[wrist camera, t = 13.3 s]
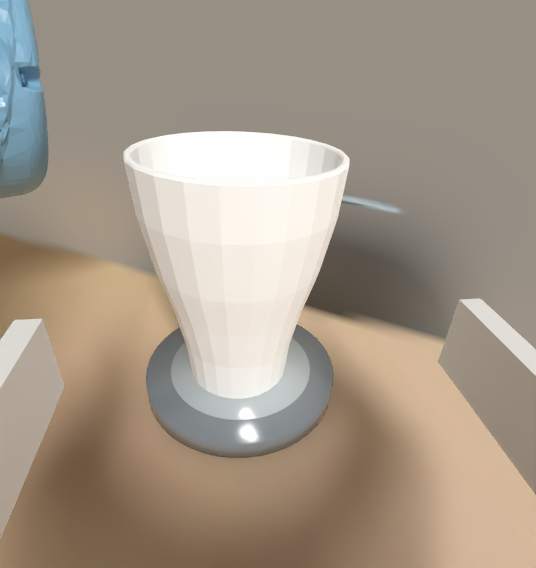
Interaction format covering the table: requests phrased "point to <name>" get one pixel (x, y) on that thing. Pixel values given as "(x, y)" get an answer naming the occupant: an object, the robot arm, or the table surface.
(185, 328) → the cup
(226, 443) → the plate
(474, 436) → the table surface
